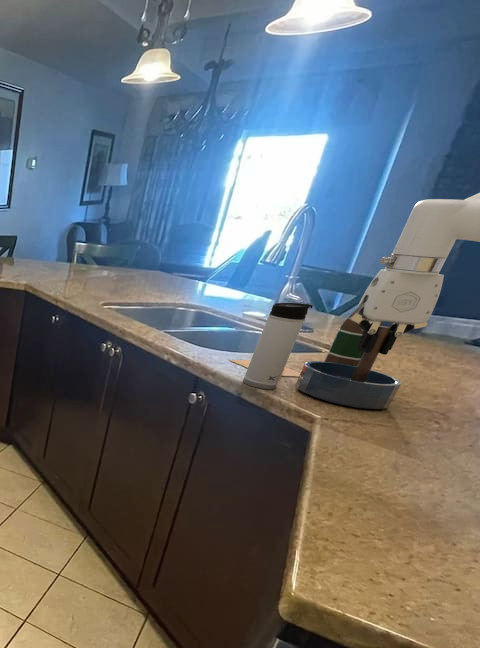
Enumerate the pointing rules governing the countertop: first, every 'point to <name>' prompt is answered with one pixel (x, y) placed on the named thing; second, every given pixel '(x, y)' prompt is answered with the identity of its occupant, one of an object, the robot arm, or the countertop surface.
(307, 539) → the countertop surface
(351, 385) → the bowl
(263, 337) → the travel mug
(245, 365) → the tan flat slab
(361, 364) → the wooden post with base
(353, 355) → the beer bottle
